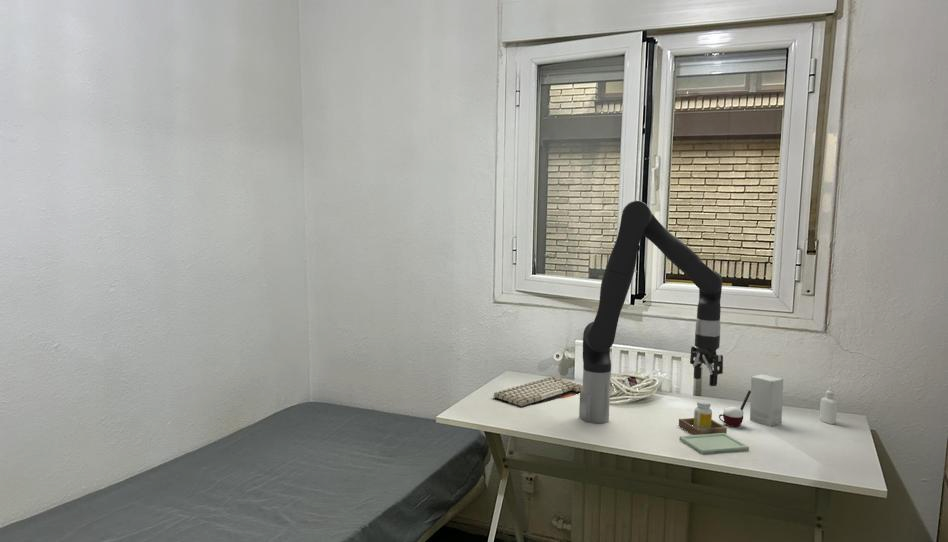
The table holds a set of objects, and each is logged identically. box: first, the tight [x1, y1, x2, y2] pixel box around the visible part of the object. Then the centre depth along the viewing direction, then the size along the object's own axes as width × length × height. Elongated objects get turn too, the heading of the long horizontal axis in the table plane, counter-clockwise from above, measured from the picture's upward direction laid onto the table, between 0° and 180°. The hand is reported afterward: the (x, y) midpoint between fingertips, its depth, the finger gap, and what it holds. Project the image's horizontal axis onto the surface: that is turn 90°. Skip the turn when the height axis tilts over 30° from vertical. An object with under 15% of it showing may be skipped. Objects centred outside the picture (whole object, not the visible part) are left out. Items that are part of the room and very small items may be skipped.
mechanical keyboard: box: [492, 376, 583, 408], centre depth 246 cm, size 38×19×3 cm, turn 135°
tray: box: [678, 432, 750, 455], centre depth 197 cm, size 16×12×1 cm
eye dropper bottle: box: [819, 387, 838, 425], centre depth 221 cm, size 4×6×12 cm
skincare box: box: [749, 373, 784, 427], centre depth 219 cm, size 8×7×16 cm
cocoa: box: [718, 389, 751, 428], centre depth 215 cm, size 10×6×12 cm, turn 59°
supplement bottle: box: [693, 400, 713, 429], centre depth 209 cm, size 5×5×10 cm
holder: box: [678, 417, 728, 435], centre depth 209 cm, size 11×11×2 cm
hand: (705, 382), depth 208 cm, fingers open, 8 cm apart
